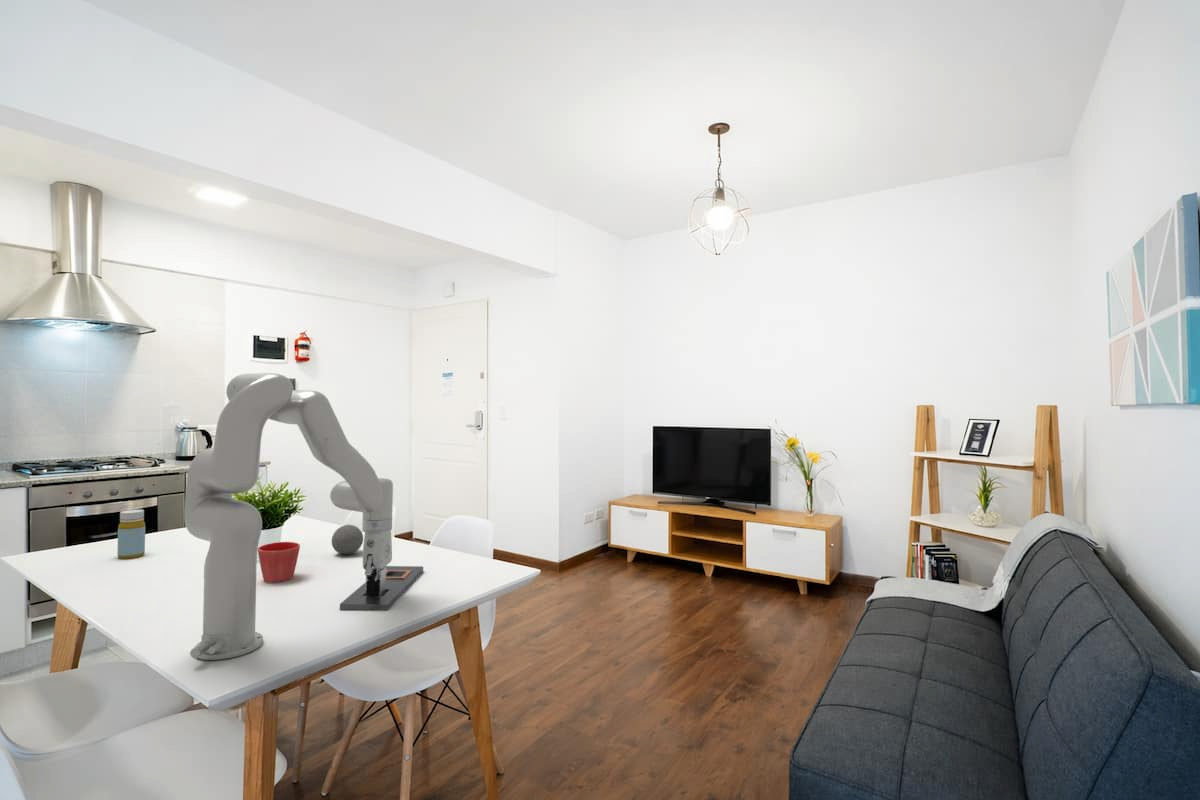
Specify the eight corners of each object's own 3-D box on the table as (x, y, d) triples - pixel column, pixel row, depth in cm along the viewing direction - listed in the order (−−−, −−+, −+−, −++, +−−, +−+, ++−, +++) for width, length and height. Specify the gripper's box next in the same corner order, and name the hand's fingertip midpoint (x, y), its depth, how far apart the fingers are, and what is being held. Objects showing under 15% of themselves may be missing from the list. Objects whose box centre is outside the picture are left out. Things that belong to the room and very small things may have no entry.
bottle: (123, 554, 194) (124, 509, 194) (148, 553, 196) (149, 508, 196) (113, 560, 188) (114, 513, 188) (138, 558, 190) (139, 512, 190)
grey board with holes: (387, 610, 148) (387, 603, 148) (339, 609, 148) (339, 602, 148) (423, 571, 182) (423, 565, 182) (384, 570, 182) (384, 565, 182)
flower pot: (287, 584, 167) (288, 551, 167) (249, 584, 167) (250, 550, 167) (306, 573, 177) (306, 542, 177) (270, 573, 177) (270, 541, 177)
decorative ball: (325, 557, 196) (326, 527, 196) (340, 550, 206) (340, 521, 206) (354, 558, 195) (355, 528, 195) (367, 550, 205) (368, 522, 205)
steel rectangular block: (380, 600, 155) (381, 570, 155) (365, 600, 155) (366, 570, 155) (385, 595, 159) (386, 566, 159) (370, 595, 159) (371, 566, 159)
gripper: (380, 531, 149) (379, 603, 149) (400, 518, 166) (399, 582, 166) (351, 531, 149) (349, 603, 149) (374, 518, 165) (372, 582, 165)
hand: (375, 591), depth 157 cm, fingers closed on steel rectangular block, 4 cm apart
